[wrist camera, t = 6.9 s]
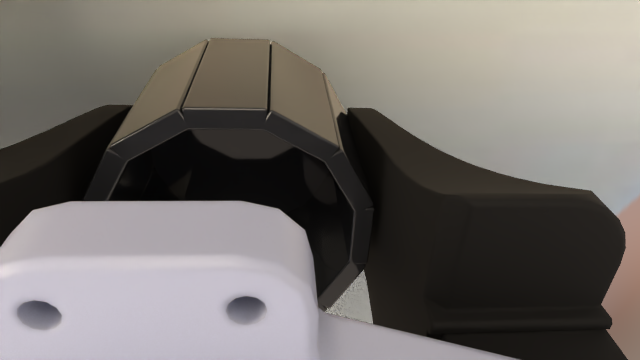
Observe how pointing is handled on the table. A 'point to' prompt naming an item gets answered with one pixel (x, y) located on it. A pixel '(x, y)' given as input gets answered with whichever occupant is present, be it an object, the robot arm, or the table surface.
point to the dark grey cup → (248, 148)
